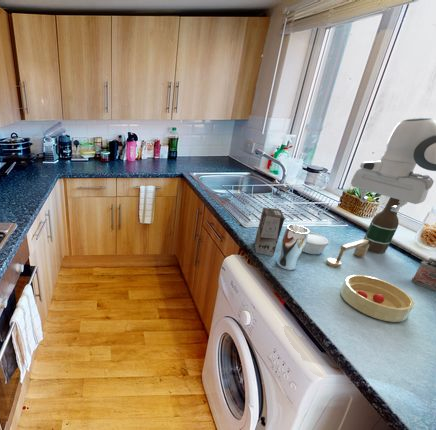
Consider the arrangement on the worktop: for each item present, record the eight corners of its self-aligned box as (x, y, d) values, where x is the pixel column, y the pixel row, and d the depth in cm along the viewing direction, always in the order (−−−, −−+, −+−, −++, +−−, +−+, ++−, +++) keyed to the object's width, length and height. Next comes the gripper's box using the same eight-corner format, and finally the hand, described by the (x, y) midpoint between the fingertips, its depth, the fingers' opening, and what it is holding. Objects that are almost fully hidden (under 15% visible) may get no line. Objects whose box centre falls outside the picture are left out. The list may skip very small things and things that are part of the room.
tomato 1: (361, 302, 87) (355, 295, 89) (370, 298, 86) (363, 291, 88) (359, 299, 86) (353, 292, 87) (369, 295, 85) (362, 287, 87)
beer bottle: (368, 252, 113) (394, 196, 103) (356, 243, 120) (379, 189, 110) (390, 255, 112) (418, 197, 102) (377, 245, 119) (402, 190, 109)
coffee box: (274, 256, 109) (285, 218, 102) (255, 253, 111) (265, 215, 104) (271, 245, 117) (281, 209, 110) (253, 242, 119) (263, 206, 112)
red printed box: (411, 282, 96) (425, 257, 92) (411, 278, 98) (424, 253, 94) (445, 293, 91) (462, 267, 87) (444, 288, 93) (460, 263, 89)
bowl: (417, 314, 82) (425, 300, 80) (387, 330, 77) (395, 316, 75) (358, 282, 95) (364, 270, 93) (328, 294, 90) (334, 281, 87)
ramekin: (312, 241, 120) (316, 230, 118) (331, 256, 110) (336, 244, 108) (286, 241, 120) (289, 230, 118) (303, 256, 110) (307, 244, 107)
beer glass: (279, 257, 108) (290, 222, 102) (299, 265, 104) (312, 229, 97) (272, 265, 104) (283, 228, 97) (293, 273, 99) (306, 235, 93)
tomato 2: (382, 292, 86) (387, 296, 84) (380, 300, 87) (385, 304, 84) (371, 291, 87) (376, 295, 84) (370, 299, 87) (375, 303, 85)
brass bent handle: (335, 268, 102) (342, 252, 100) (323, 262, 106) (329, 246, 103) (366, 258, 109) (373, 242, 106) (353, 252, 113) (360, 237, 110)
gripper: (441, 176, 88) (420, 216, 94) (366, 160, 105) (352, 195, 111) (430, 178, 86) (410, 219, 92) (356, 162, 103) (342, 197, 109)
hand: (378, 206), depth 101 cm, fingers open, 8 cm apart
